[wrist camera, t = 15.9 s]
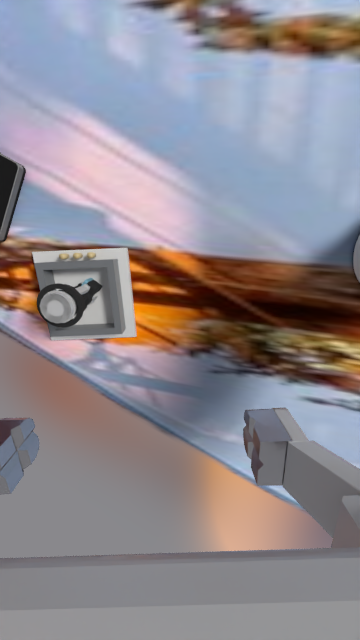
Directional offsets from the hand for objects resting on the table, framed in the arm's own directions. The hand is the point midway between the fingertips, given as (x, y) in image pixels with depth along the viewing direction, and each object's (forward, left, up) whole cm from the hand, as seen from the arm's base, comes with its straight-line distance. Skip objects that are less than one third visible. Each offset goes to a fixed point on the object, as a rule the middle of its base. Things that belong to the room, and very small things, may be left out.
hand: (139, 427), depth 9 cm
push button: (+13, 0, -28) cm, 31 cm away
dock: (+13, 0, -29) cm, 32 cm away
